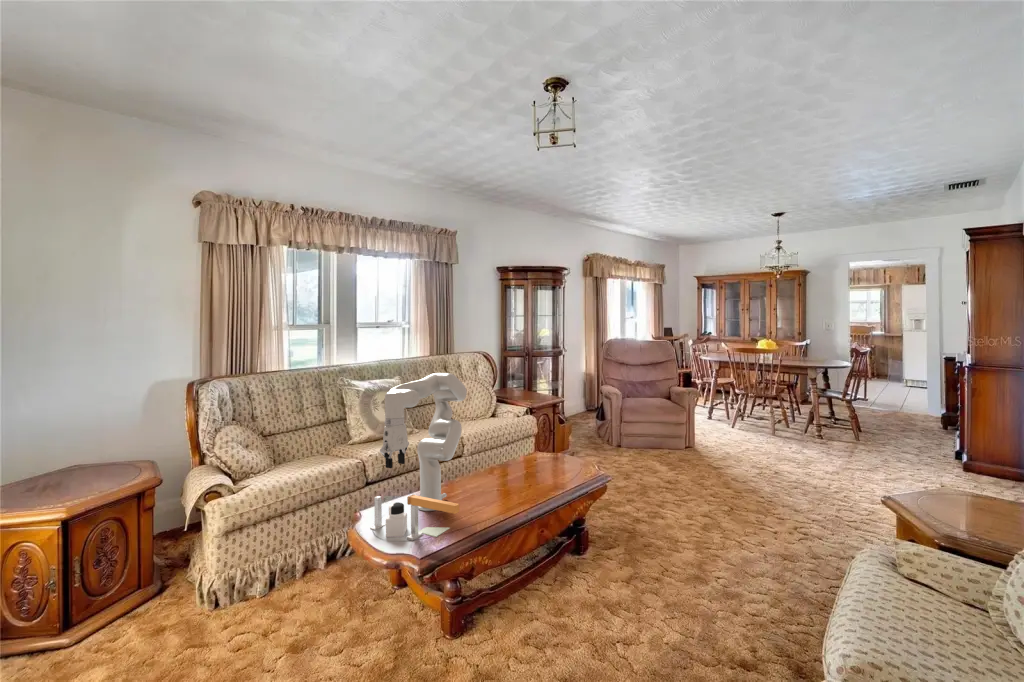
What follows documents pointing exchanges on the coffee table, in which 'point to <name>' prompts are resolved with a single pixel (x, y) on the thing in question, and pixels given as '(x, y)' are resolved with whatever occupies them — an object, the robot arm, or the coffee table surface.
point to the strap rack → (379, 524)
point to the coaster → (433, 531)
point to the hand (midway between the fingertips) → (395, 465)
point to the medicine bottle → (396, 520)
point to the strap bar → (433, 504)
